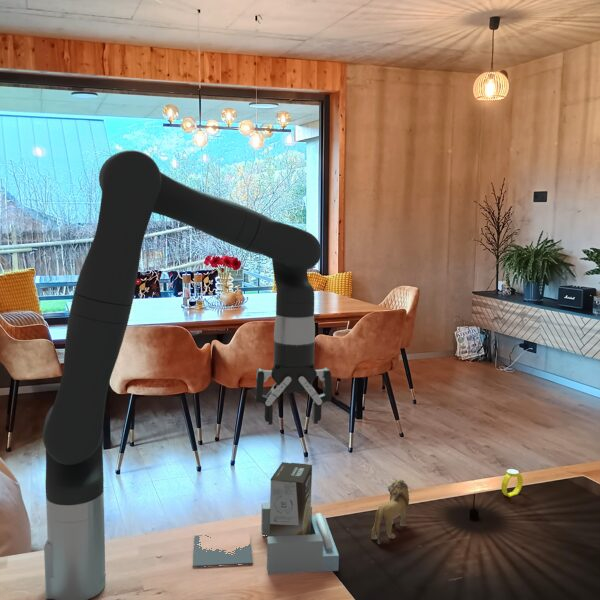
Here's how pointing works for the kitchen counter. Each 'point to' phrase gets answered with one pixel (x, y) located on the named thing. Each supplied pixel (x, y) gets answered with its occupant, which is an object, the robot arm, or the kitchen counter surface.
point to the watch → (506, 479)
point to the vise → (300, 548)
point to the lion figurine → (392, 508)
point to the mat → (220, 556)
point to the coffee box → (291, 500)
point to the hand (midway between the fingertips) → (292, 423)
